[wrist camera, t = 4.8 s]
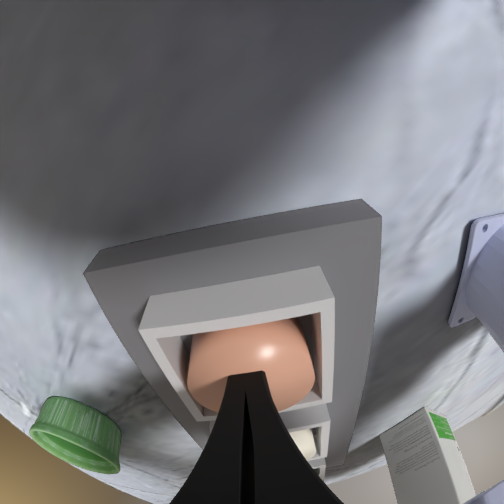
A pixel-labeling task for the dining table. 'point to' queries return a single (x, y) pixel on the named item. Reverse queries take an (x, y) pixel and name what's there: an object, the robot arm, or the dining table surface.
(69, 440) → the ramekin
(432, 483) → the skincare box
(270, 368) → the terracotta button
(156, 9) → the dining table surface
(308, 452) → the cream button
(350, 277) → the button panel
